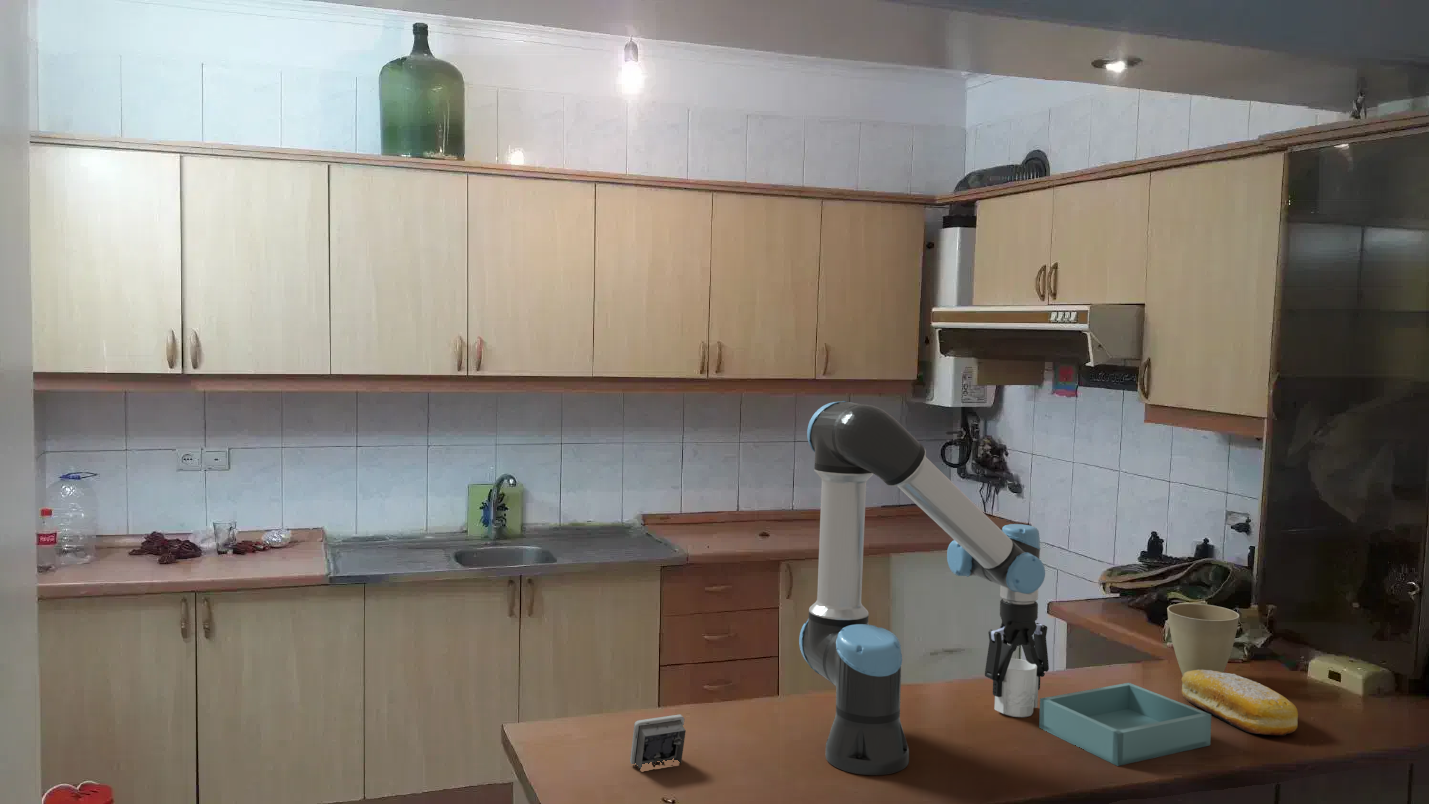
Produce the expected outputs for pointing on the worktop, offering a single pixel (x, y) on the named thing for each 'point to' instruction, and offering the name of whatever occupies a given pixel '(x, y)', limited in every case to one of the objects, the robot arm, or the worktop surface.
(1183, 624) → the plant pot
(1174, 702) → the walled box
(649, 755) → the electrical switch
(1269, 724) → the bread
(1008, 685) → the white cup
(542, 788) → the worktop surface
